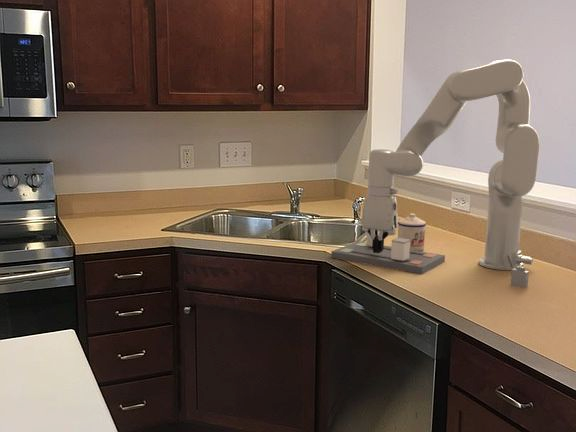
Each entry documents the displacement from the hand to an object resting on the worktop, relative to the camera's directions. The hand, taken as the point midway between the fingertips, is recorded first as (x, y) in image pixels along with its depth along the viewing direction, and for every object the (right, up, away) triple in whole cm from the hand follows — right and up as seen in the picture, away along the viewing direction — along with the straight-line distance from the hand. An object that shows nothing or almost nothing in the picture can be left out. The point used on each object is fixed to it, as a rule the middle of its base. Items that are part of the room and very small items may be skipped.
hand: (377, 251), depth 196 cm
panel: (+4, -3, +4) cm, 6 cm away
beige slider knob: (+6, -2, -4) cm, 7 cm away
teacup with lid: (+14, 0, +20) cm, 24 cm away
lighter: (+34, -8, -20) cm, 40 cm away
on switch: (+1, +1, +12) cm, 12 cm away
